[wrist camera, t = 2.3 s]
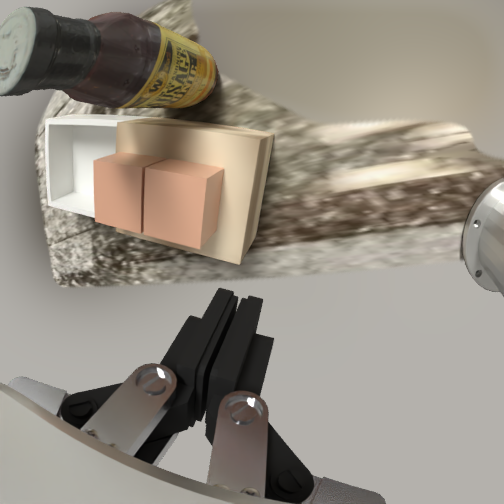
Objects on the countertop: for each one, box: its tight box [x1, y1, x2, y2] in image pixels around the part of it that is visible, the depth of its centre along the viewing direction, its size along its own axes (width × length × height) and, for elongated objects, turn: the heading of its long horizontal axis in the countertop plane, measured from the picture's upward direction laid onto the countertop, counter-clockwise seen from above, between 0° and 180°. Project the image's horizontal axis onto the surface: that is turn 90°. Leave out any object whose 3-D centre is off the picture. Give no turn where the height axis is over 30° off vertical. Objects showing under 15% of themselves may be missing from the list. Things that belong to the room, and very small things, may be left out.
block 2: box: [144, 159, 224, 249], centre depth 22 cm, size 4×5×4 cm
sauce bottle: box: [0, 7, 218, 109], centre depth 16 cm, size 6×6×20 cm
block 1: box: [93, 152, 166, 234], centre depth 22 cm, size 4×5×4 cm
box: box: [45, 114, 151, 218], centre depth 28 cm, size 12×10×4 cm
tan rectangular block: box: [116, 117, 274, 265], centre depth 26 cm, size 12×10×6 cm
